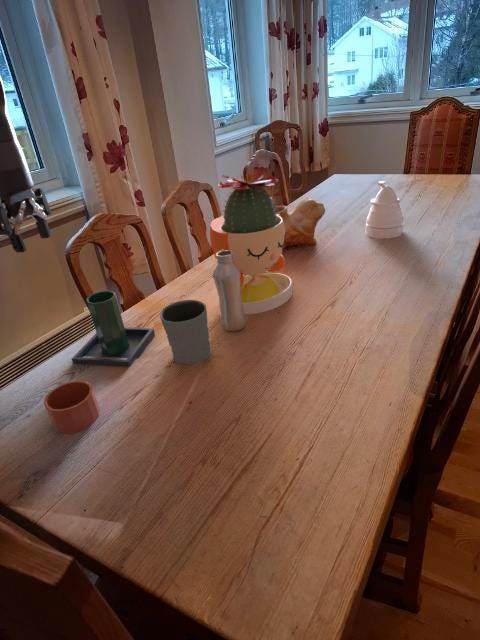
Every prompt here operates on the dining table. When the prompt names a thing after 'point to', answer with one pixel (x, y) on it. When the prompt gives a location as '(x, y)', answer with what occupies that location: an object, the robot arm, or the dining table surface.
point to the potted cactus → (253, 241)
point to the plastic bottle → (229, 292)
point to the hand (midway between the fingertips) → (34, 244)
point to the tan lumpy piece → (301, 222)
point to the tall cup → (108, 322)
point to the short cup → (72, 406)
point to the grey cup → (187, 331)
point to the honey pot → (385, 214)
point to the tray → (137, 344)
